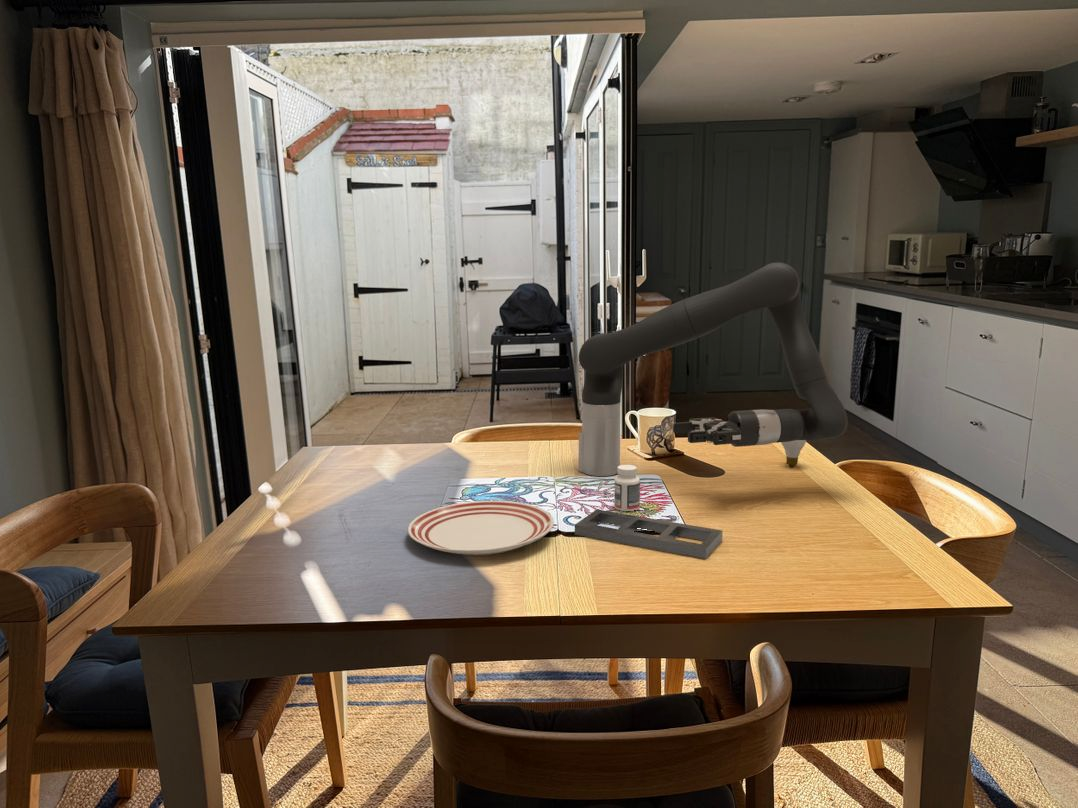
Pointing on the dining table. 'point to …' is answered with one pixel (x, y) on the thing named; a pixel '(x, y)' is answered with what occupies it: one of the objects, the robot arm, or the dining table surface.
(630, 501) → the pill bottle
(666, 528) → the compartment tray
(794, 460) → the light bulb
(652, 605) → the dining table surface
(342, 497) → the dining table surface
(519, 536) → the dinner plate
